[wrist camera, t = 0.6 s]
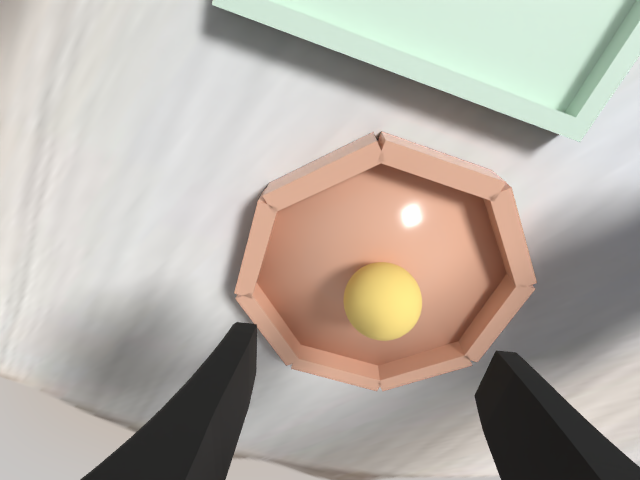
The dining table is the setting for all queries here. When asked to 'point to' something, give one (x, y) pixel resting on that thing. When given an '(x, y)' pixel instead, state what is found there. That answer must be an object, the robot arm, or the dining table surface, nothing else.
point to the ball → (382, 301)
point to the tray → (480, 48)
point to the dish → (385, 260)
